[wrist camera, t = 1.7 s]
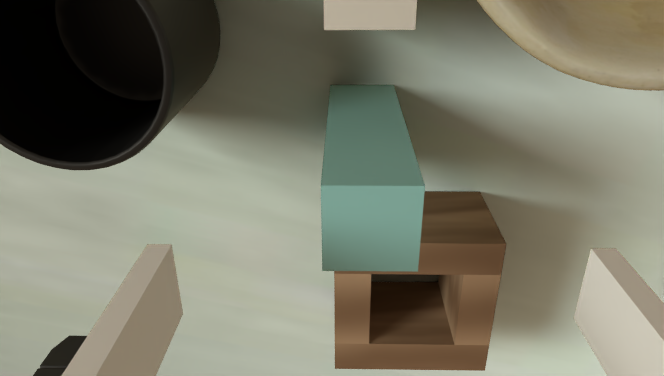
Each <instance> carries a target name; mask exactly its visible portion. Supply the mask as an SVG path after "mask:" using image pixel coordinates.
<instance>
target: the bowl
mask: <svg viewBox="0 0 664 376" xmlns="http://www.w3.org/2000/svg"><path fill="white" fill-rule="evenodd" d="M477 1H478V2H479V4H480V5H481V7H482V8H483V9H484V11H485V12H486V13H487V14H488V16H489V17H490V18H491V19H492V20H493V21H494V23H495V24H496V25H497V26H498V27H499V28H500V29H501V30H503V31H504V32H505V33H506V34H507V35H508V36H509V37H510V38H511V39H512V40H513V41H514V42H515V43H516V44H517V45H519V46H520V47H521V48H522V49H523V50H525V51H526V52H528V53H529V54H530V55H532V56H533V57H535V58H537V59H538V60H540V61H541V62H543V63H545V64H547V65H549V66H551V67H552V68H554V69H556V70H558V71H561V72H563V73H565V74H568V75H571V76H574V77H577V78H579V79H582V80H586V81H590V82H593V83H597V84H600V85H607V86H611V87H617V88H625V89H633V90H664V0H477Z"/></svg>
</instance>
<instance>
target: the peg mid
mask: <svg viewBox="0 0 664 376" xmlns="http://www.w3.org/2000/svg"><path fill="white" fill-rule="evenodd" d="M416 9H417V0H324V30H415V25H416Z"/></svg>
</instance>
